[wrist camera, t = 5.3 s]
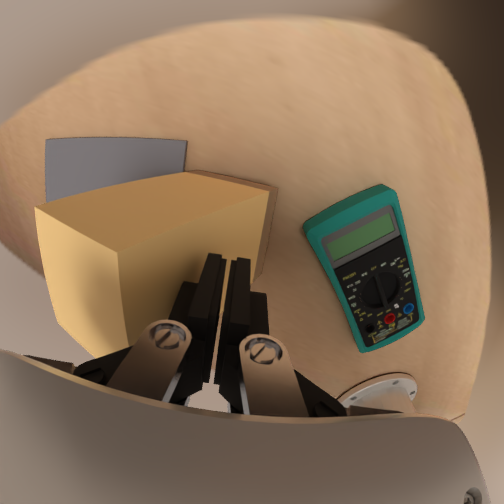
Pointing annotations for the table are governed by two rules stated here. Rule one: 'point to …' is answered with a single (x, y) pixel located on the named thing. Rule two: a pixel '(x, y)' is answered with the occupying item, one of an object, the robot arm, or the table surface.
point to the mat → (107, 162)
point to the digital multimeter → (369, 265)
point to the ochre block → (145, 249)
